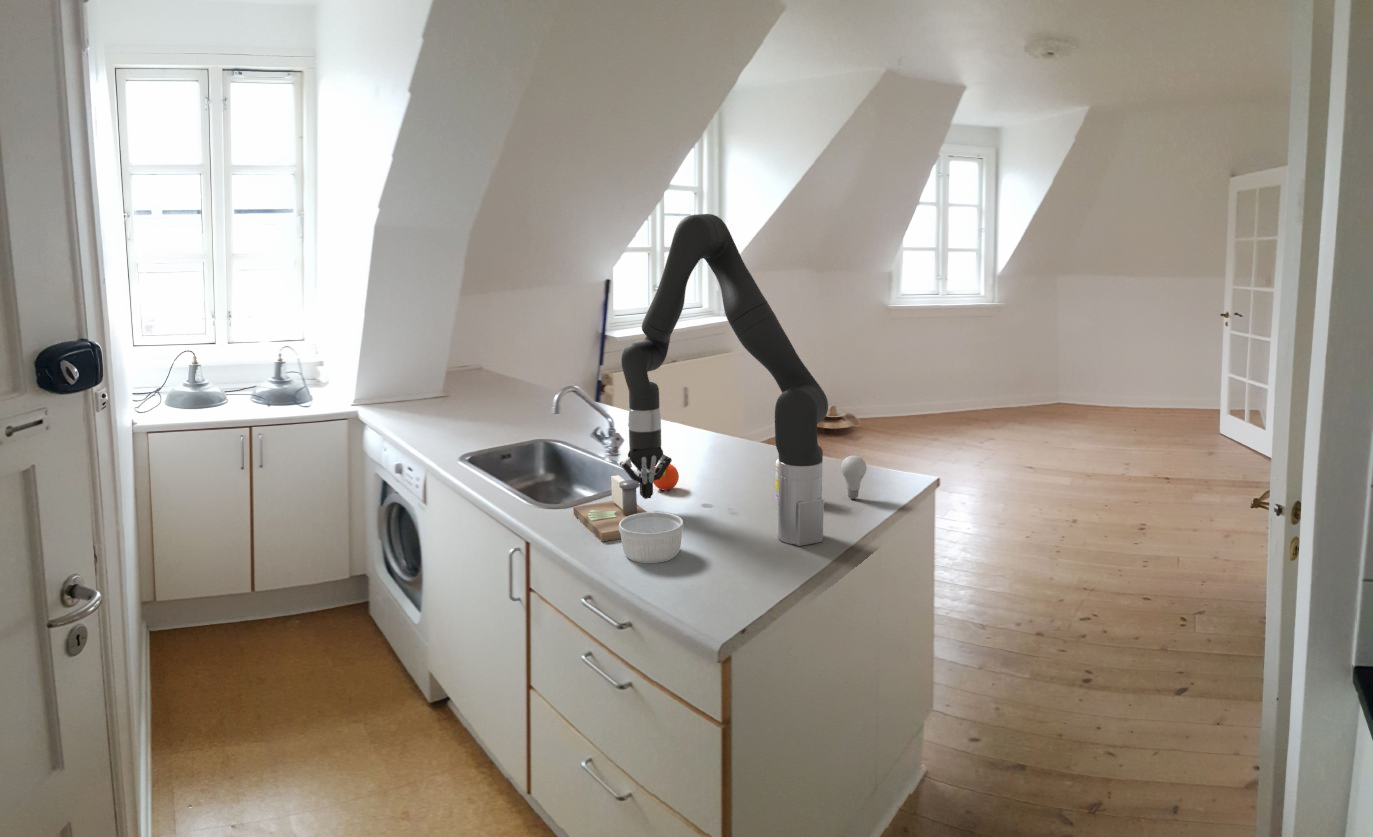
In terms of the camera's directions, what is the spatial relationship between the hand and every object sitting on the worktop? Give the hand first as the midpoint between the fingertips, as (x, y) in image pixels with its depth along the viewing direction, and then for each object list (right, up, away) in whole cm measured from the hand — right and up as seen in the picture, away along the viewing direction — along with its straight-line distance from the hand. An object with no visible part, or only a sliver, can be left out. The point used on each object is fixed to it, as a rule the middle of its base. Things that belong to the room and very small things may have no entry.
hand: (646, 497), depth 206 cm
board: (-7, -5, -8) cm, 12 cm away
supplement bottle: (+35, -1, +7) cm, 35 cm away
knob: (-5, -2, -5) cm, 7 cm away
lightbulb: (+50, -1, +6) cm, 51 cm away
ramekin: (+2, -9, -27) cm, 29 cm away
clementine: (+4, 0, +16) cm, 16 cm away
